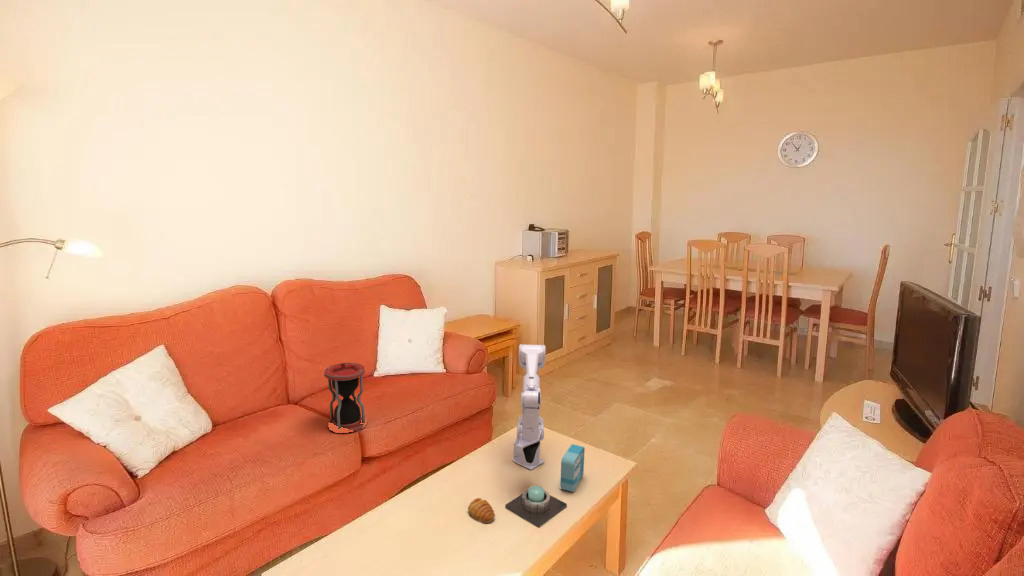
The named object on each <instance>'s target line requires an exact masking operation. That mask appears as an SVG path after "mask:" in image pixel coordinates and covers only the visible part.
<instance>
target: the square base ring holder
mask: <svg viewBox="0 0 1024 576" xmlns="http://www.w3.org/2000/svg"><path fill="white" fill-rule="evenodd" d="M528 490H529V488H528V489H526V490H525V491H523V493H521V494H520V495H518V496H517V497H515V498H513V499H512V500H510V501H509V502H508V503H506V504H505V509H507V510H509V511H510V512H512V513H514V514H516V515H517V516H519V517H521V518H522V519H524V520H526V521H527V522H530V523H531V524H533V526H536V527H538V528H541V527H542V526H543V525H544V524H546V523H547V522H548V521H550V520H551V519H552V518H554V517H555V516H556V515H557V514H559V513H561V512H562V511H563V510H564V509H566V508H567V507H568V504H567V503H566V502H564V501H562V500H560V499H558V498H557V497H554V496H552V495H550V493H549V492H548V490H546V489H544V501H543V502H538V503H537V502H531V501H530V500H528Z"/></svg>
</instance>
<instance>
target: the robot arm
mask: <svg viewBox="0 0 1024 576" xmlns="http://www.w3.org/2000/svg"><path fill="white" fill-rule="evenodd" d="M546 350H547V349H546V345H545V344H522V343H520V344H519V347H518V363H519V367H520V368H523V369H524V372H525V375H524V376H523V379H522V392H521V394H520V398H521V399H520V406H521V415H519V417H518V419H517V425H516V438H515V439H514V442H513V458H512V459H511V461H512V462H514V463H515V464H518V465H520V466H522V467H524V468H526V469H528V470H531V471H532V470H534V469H535V468H536V467H539V466H540V465H542V464H544V462H545V460H544V459H543V458H540V457H541V454H540V452H541V449H540V448H541V441H543V440H544V439H545V438H544V437H545V425H544V421H545V420H544V418H543V417H542V416H540V408H541V406H542V393H541V388H540V387H541V379H540V376H539V375H538V373H539V371H540V369H542V368H544V367H545V363H546Z"/></svg>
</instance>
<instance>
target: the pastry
mask: <svg viewBox="0 0 1024 576" xmlns="http://www.w3.org/2000/svg"><path fill="white" fill-rule="evenodd" d="M467 511H468V513H469V515H470V516H471V517H472V518H474V519H475V520H477V521H479V522H481V523H485V524H489V523H491V522H493V521H494V519H495V517H496V514H495V511H494V510H493V507H492V505H491V504H490V503H489V502H488V500H486V499H482V498H480V497H476V498H474V499H473V500H472V501H471V502H470V503H469V505H468V507H467Z"/></svg>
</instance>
